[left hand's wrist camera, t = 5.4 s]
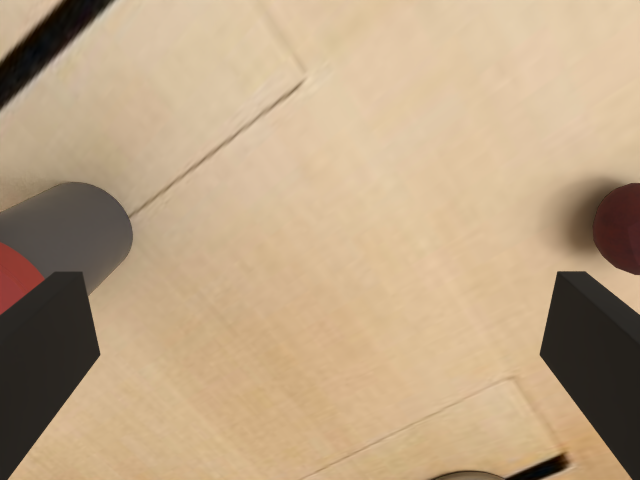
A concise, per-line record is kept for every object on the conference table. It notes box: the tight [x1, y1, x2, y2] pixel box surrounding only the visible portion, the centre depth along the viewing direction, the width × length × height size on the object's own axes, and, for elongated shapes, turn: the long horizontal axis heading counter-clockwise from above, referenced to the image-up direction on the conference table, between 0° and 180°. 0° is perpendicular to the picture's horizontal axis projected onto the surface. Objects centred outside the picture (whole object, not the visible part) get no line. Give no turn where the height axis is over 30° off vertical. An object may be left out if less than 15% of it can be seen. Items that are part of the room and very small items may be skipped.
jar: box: [0, 182, 133, 296], centre depth 34 cm, size 9×9×16 cm
